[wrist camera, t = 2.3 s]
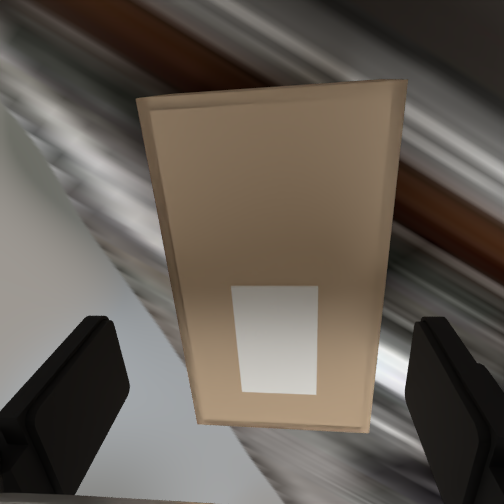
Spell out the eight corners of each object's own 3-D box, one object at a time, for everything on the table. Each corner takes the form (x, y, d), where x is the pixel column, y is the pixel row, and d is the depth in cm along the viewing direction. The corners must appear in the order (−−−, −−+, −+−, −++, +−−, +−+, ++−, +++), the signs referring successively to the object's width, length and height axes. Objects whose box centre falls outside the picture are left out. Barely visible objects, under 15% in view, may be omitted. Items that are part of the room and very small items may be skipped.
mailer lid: (169, 94, 13) (134, 98, 10) (382, 79, 12) (408, 79, 9) (211, 374, 19) (196, 426, 16) (357, 379, 18) (369, 435, 15)
